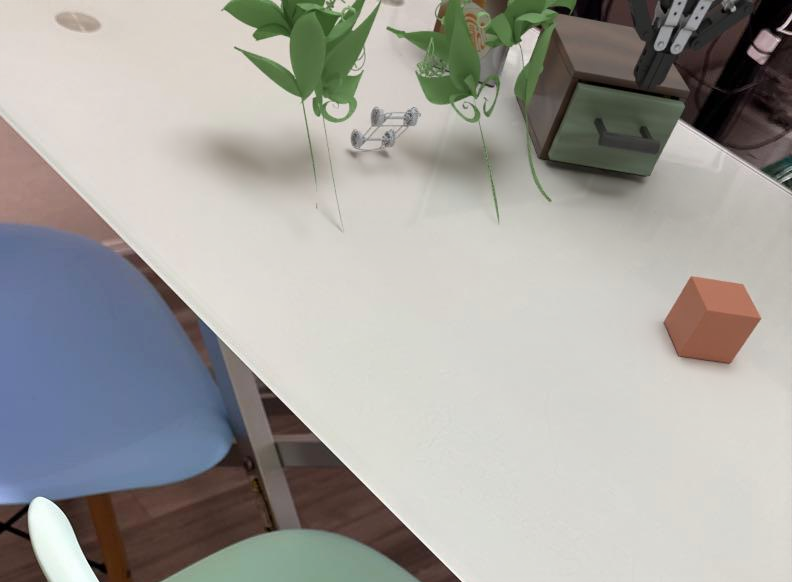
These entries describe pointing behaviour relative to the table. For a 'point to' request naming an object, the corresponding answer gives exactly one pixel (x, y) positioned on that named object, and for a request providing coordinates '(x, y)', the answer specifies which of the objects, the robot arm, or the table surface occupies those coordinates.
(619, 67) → the cabinet
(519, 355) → the table surface
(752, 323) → the block
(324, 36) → the plant cuttings
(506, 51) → the coffee box
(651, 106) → the drawer
